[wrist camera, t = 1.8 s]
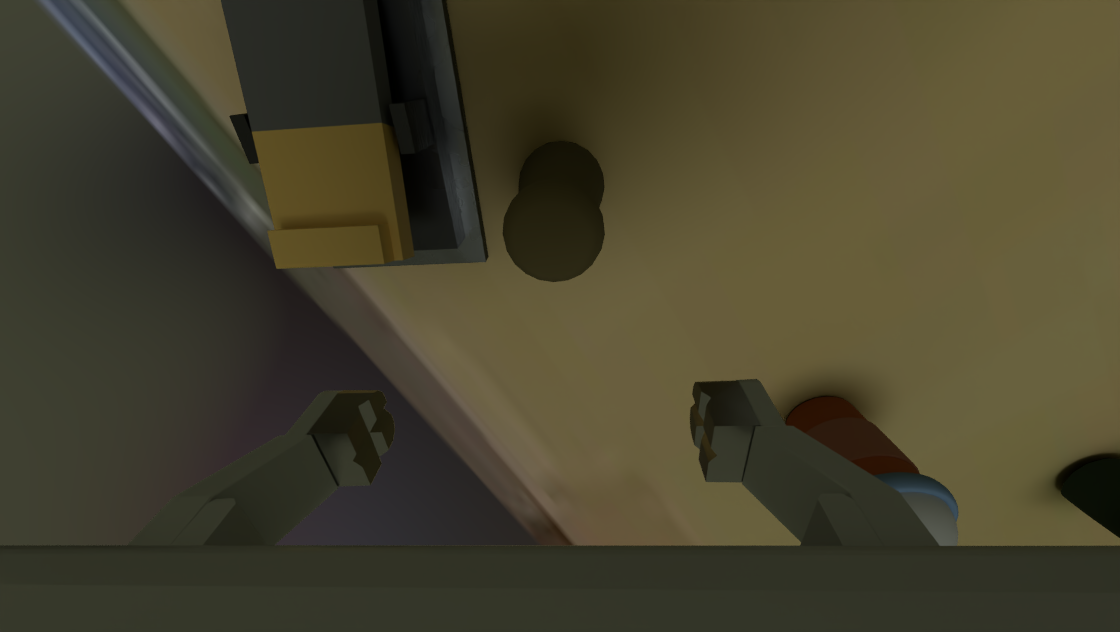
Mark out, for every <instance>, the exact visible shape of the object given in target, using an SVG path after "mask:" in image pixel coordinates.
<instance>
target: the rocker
mask: <svg viewBox="0 0 1120 632" xmlns="http://www.w3.org/2000/svg"><path fill="white" fill-rule="evenodd" d="M221 3H222V7H223V11H224V16H225V20H226V24H227V28H228V33H229V37H230V41H231V45H232V50H233V54H234V58H235V62H236V67H237V71H238V75H239V79H240V84H241V88H242V92H243V96H244V101H245V105H246V109H247V113H248V118H249V122H250V126H251V130H252V135H253V139H254V143H255V148H256V152H257V156H258V160H259V165H260V169H261V173H262V177H263V182H264V186H265V190H266V194H267V199H268V203H269V207H270V211H271V216H272V220H273V224H274V228H275V230H271V231H268V236H269V240H270V244H271V248H272V252H273V256H274V261H275V265H276V268H277V269H280V268H303V267H326V266H349V265H372V264H386V263H389V262H392V261H397V260H405V259H408V258H411V257H414V249H413V242H412V235H411V229H410V222H409V215H408V208H407V201H406V195H405V188H404V181H403V174H402V167H401V161H400V154H399V147H398V140H397V136H396V132H395V128H394V124H393V120H392V116H391V112H390V108H389V104H392V99H391V93H390V86H389V79H388V72H387V65H386V59H385V52H384V45H383V38H382V31H381V25H380V18H379V11H378V4H377V0H221Z"/></svg>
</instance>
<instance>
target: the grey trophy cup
mask: <svg viewBox="0 0 1120 632" xmlns="http://www.w3.org/2000/svg"><path fill="white" fill-rule="evenodd" d="M1061 493H1062V495H1063V496H1064V497H1065V498H1066V499H1067V500H1069V501H1070V502H1071V503H1073V504H1074V505H1075V506H1076V507H1078V508H1079V509H1080V510H1082V511H1083V512H1084V513H1085V514H1087V515H1088V516H1090V517H1091V518H1092V519H1094V520H1095V521H1097V522H1098V523H1099V524H1101V525H1102V526H1104V527H1105V528H1106V529H1108V530H1109V531H1111V532H1112V533H1113V534H1115V535H1116V536H1118V537H1119V538H1120V459H1102V460H1099V461H1095V462H1092V463H1088V464H1086V465H1085V466H1083V467H1081V468H1080V469H1078V470H1077V471H1075V472H1073V473H1072V474H1071V476H1070V477H1069V478H1068V479H1067V480H1066V481H1065V482H1064V484H1063V487H1062V490H1061Z"/></svg>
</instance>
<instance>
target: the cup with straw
mask: <svg viewBox="0 0 1120 632" xmlns="http://www.w3.org/2000/svg"><path fill="white" fill-rule="evenodd" d="M786 426H794V427H796V428H797V429H799V430H801V431H802V432H804V433H805V434H807V435H809V436H810V437H812V438H813V439H815V440H817V441H818V442H820V443H821V444H823V445H825V446H826V447H828V448H829V449H831V450H833V451H834V452H836V453H838V454H839V455H841V456H842V457H844V458H846V459H847V460H849V461H850V462H852V463H854V464H855V465H857V466H858V467H860V468H862V469H863V470H865V471H866V472H868V473H870V474H871V475H873V476H874V477H876V478H878V479H879V480H881V481H883V482H884V483H886V484H887V485H889V486H891V487H892V488H894V489H895V490H897V491H899V492H900V494H901V495H902V496H903V498H904V499H905V500H906V502H907V503H908V504H909V506H910V507H911V508H912V509H913V511H914V512H915V513H916V515H917V516H918V517H919V519H920V520H921V521H922V523H923V524H924V525H925V527H926V528H927V529H928V531H929V532H930V533H931V535H932V536H933V537H934V538H935V540H936V541H937V542H938V544H939V545H940V546H957V542H958V530H957V524H956V521H957V518H958V506H957V503H956V501H955V499H954V497H953V495H952V494H951V493H950V491H949V490H948V489H947V488H946V487H945V486H944V485H942V484H941V483H940V482H938V481H936V480H935V479H933V478H930V477H928V476H925V475H921V474H920V473H919V470H918V468H917V467H916V466H915V465H914V463H913V462H912V461H911V460H910V459H909V458H908V457H907V456H906V455H905V454H904V453H903V452H902V451H901V450H900V449H899V448H898V447H897V446H896V445H895V444H894V443H893V442H892V441H891V440H890V439H889V438H888V437H887V436H886V435H885V434H884V433H883V432H882V431H881V430H880V429H879V428H878V427H877V426H875V425H874V424H873V423H871V422H869V421H867V420H866V419H865V418H864V417H863V416H862V415H861V414H860V413H859V411H857V410H856V409H855V408H854V407H853V406H852V405H851V404H850V403H849V402H848V401H846V400H844V399H841V398H838V397H829V396H827V397H818V398H814V399H811V400H808V401H806V402H804V403H802V404H800V405H799V406H798V407H796V408H795V409H794V410H793V411H792V412H791V413H790V415H789V416H788V418H787V420H786Z"/></svg>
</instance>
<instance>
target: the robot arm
mask: <svg viewBox="0 0 1120 632" xmlns="http://www.w3.org/2000/svg"><path fill="white" fill-rule="evenodd" d="M692 395H693V398H694V401H695V404H694V405H693V406H692V407H691V410H690V429H691V434H692V439H693V442H694V445H695V446H696V447H698V448H699V449H700V453H699V462H700V465H701V468H702V471H703V474H704V478H705V481H706V482H743V483H742V484H743V485H744V486H745V487H746V488H747V489H748V490H749V491H750V492H751V493H752V494H753V495H754V496H755V497H756V498H757V499H758V500H759V501H760V502H761V503H762V504H763V505H764V506H765V507H766V508H767V509H768V510H769V511H770V512H771V513H772V514H773V515H774V516H775V517H776V518H777V519H778V520H779V521H780V522H781V523H782V524H783V525H784V526H785V527H786V528H787V529H788V530H789V531H790V532H791V533H792V534H793V535H794V536H795V537H796V538H797V539H798V540H799V541H800V542H801V545H800V546H461V545H459V546H458V545H457V546H455V545H454V546H452V545H449V546H446V545H444V546H442V545H441V546H438V545H436V546H435V545H433V546H431V545H428V546H427V545H426V546H425V545H419V546H418V545H416V546H414V545H411V546H410V545H399V546H398V545H397V546H395V545H390V546H388V545H367V546H366V545H359V546H358V545H353V546H352V545H349V546H348V545H343V546H342V545H336V546H335V545H323V546H322V545H308V546H307V545H306V546H305V545H297V546H296V545H283V546H282V545H275V544H276V543H277V542H279V541H280V540H281V539H282V538H283V537H284V536H285V535H286V534H288V533H289V532H290V531H291V530H292V529H293V528H294V527H295V526H296V525H298V524H299V523H300V522H301V521H302V520H303V519H304V518H305V517H307V516H308V515H309V514H310V513H311V512H312V511H313V510H314V509H315V508H317V507H318V506H319V505H320V504H321V503H322V502H323V501H324V500H326V498H328V497H329V496H330V495H331V494H332V493H333V492H335V491H336V490H337V489H338V486H362V485H371V483H372V481H373V479H374V477H375V476H376V473H377V471H378V469H379V468H380V466H381V461H380V456H381V455H382V454H384V453H385V452H386V451H388V450H389V448H390V446H391V444H392V441H393V437H394V432H395V428H394V420H393V418H392V415H391V414H390V413H389V412H388V411H386V410H385V409H384V406H385V404H386V403H387V401H386V399H385V396H384V394H383V392H381V391H378V390H356V391H354V390H353V391H351V390H349V391H348V390H345V391H344V390H343V391H324V392H322V393H320V394H319V395H318V396H317V397H316V398H315V400H314V401H313V402H312V404H311V405H310V406H309V407H308V408H307V409H306V411H305V412H304V413H303V414H302V416H301V417H300V418H299V419H298V420H297V421H296V423H295V424H294V425H293V426H292V428H291V429H290V430H289V431H288V432H287V434H286V435H284V436H278V437H276V438H274V439H273V440H271V441H269V442H268V443H266V444H264V445H262V446H261V447H259V448H257V449H255V450H254V451H252V452H250V453H249V454H247V455H245V456H243V457H242V458H240V459H238V460H237V461H235V462H233V463H231V464H230V465H228V466H226V467H224V468H223V469H221V470H219V471H218V472H216V473H214V474H212V475H211V476H209V477H207V478H205V479H204V480H202V481H200V482H199V483H197V484H195V485H193V486H192V487H190V488H188V489H186V490H185V491H183V492H181V493H180V494H178V495H176V496H174V497H173V498H172V499H171V500H170V501H169V502H168V503H167V504H166V505H165V506H164V507H163V508H162V509H161V510H160V512H159V513H158V514H157V515H156V516H155V517H154V518H153V519H152V520H151V521H150V522H149V523H148V524H147V525H146V526H145V527H144V528H143V529H142V530H141V531H140V532H139V533H138V534H137V535H136V537H135V538H134V539H133V540H132V541H131V542H130V543H129V544H128V545H51V546H50V545H38V546H37V545H5V546H4V545H0V632H1120V546H940V545H939V544H938V542H937V541H936V540H935V538H934V537H933V536H932V535H931V533H930V532H929V531H928V529H927V528H926V527H925V525H924V524H923V523H922V521H921V520H920V519H919V517H918V516H917V515H916V513H915V512H914V511H913V509H912V508H911V507H910V506H909V504H908V503H907V502H906V500H905V499H904V498H903V496H902V495H901V494H900V492H899V491H897V490H895V489H894V488H892V487H891V486H889V485H887V484H886V483H884V482H883V481H881V480H879V479H878V478H876V477H874V476H873V475H871V474H870V473H868V472H866V471H865V470H863V469H862V468H860V467H858V466H857V465H855V464H854V463H852V462H850V461H849V460H847V459H846V458H844V457H842V456H841V455H839V454H838V453H836V452H834V451H833V450H831V449H829V448H828V447H826V446H825V445H823V444H821V443H820V442H818V441H817V440H815V439H813V438H812V437H810V436H809V435H807V434H805V433H804V432H802V431H801V430H799V429H797V428H796V427H794V426H786V424H785V422H784V421H783V419H782V417H781V416H780V414H779V412H778V411H777V409H776V407H775V406H774V404H773V402H772V401H771V399H770V397H769V396H768V394H767V392H766V390H765V389H764V387H763V385H762V384H761V382H760V381H759V380H757V379H747V380H736V381H706V382H695V383H694V386H693V392H692Z"/></svg>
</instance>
